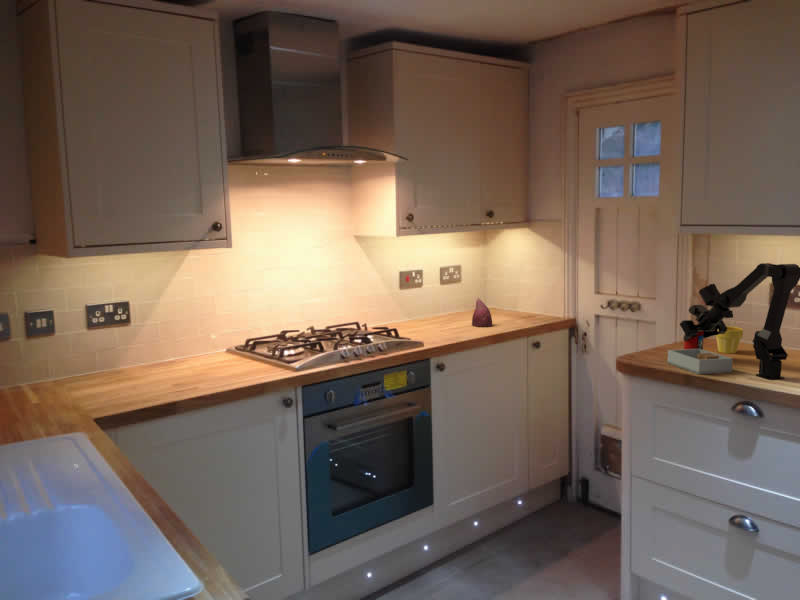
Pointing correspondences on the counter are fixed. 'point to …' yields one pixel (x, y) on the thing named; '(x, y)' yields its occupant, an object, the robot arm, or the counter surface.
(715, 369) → the tote
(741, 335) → the plant pot
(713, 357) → the walnut cube
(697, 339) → the beverage can
